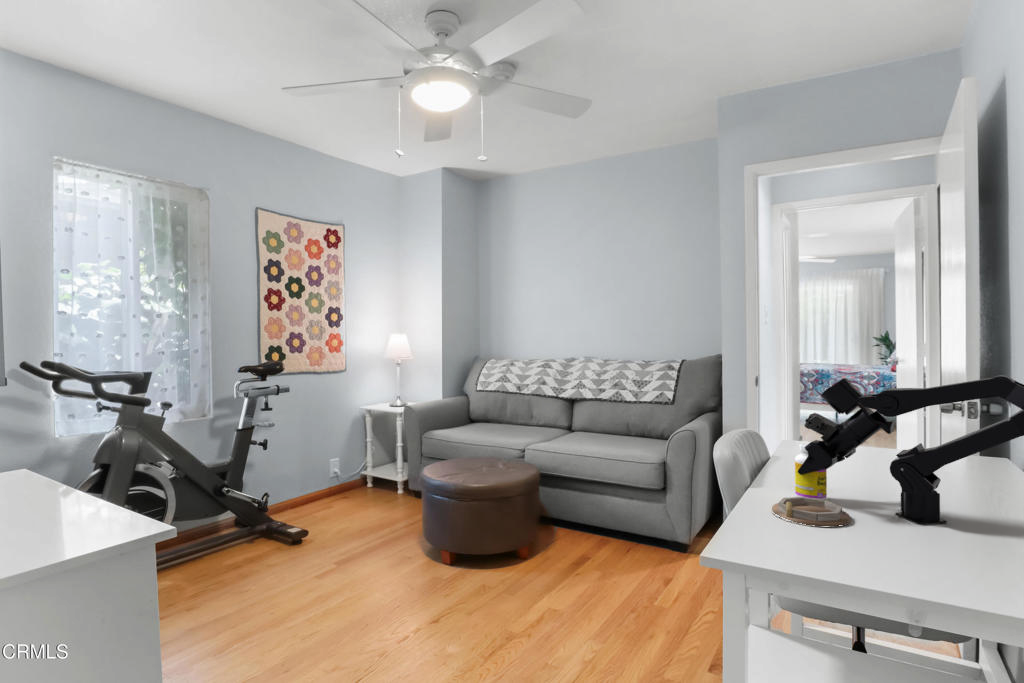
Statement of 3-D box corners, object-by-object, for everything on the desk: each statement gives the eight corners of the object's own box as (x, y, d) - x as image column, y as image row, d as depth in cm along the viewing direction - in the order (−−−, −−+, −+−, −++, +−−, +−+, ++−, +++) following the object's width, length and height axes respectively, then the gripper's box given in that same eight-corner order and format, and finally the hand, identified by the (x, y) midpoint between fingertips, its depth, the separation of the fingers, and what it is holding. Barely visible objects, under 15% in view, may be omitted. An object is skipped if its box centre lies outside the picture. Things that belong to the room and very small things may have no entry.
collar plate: (867, 525, 114) (867, 506, 114) (799, 529, 112) (799, 510, 112) (818, 503, 129) (818, 487, 129) (758, 506, 127) (758, 490, 127)
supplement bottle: (819, 505, 127) (819, 449, 127) (790, 498, 133) (789, 445, 132) (831, 499, 132) (830, 445, 132) (802, 493, 137) (802, 441, 137)
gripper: (840, 399, 136) (793, 438, 144) (814, 407, 123) (764, 449, 131) (878, 435, 130) (827, 474, 138) (855, 447, 117) (800, 489, 125)
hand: (804, 470), depth 133 cm, fingers closed on supplement bottle, 7 cm apart
